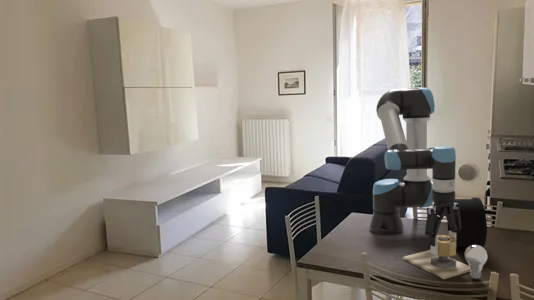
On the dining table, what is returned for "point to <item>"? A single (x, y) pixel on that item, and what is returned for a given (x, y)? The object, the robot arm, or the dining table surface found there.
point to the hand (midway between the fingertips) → (443, 251)
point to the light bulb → (475, 259)
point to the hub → (446, 246)
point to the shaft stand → (438, 263)
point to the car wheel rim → (471, 223)
